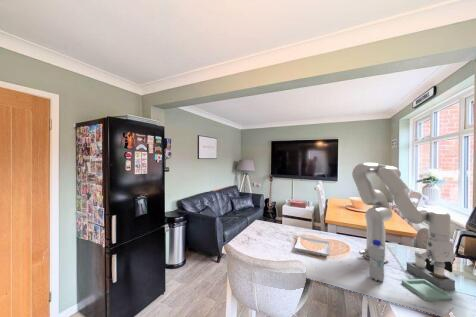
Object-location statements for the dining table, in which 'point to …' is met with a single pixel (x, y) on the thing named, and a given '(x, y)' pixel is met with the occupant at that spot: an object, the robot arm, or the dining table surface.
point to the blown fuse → (439, 270)
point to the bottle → (376, 261)
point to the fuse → (419, 260)
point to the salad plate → (320, 252)
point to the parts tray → (426, 290)
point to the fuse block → (431, 277)
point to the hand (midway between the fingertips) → (439, 271)
